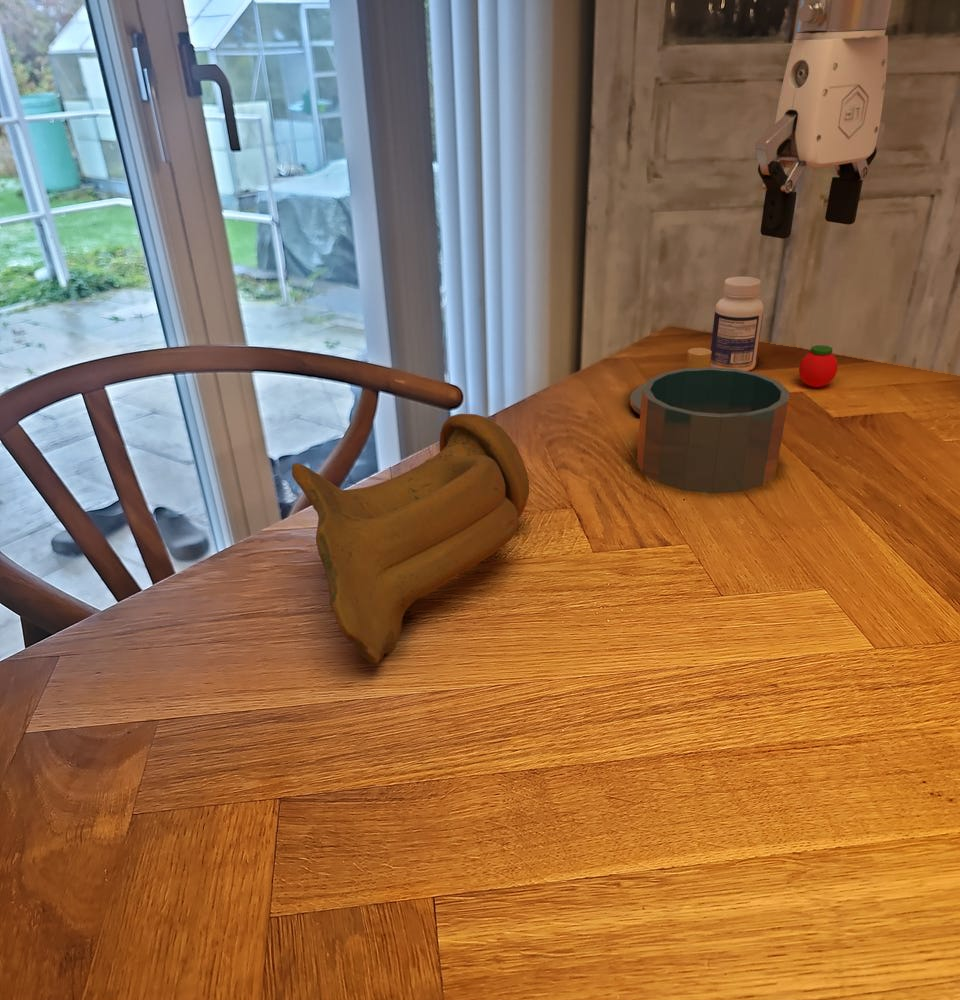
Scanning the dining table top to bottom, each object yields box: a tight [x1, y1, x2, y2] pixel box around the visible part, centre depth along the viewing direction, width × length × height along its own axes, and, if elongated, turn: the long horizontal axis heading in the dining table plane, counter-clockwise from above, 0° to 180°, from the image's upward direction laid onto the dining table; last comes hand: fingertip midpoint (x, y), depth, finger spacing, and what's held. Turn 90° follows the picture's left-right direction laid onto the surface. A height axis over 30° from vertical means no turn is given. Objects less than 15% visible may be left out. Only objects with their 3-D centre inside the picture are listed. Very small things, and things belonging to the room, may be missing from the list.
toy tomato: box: [798, 344, 839, 388], centre depth 97 cm, size 4×4×4 cm
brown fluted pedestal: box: [291, 413, 530, 664], centre depth 63 cm, size 18×13×22 cm
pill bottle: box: [710, 276, 765, 372], centre depth 102 cm, size 5×5×10 cm
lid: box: [629, 347, 712, 415], centre depth 92 cm, size 13×13×6 cm
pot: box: [636, 366, 790, 494], centre depth 79 cm, size 12×12×8 cm
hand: (807, 229), depth 87 cm, fingers open, 9 cm apart
